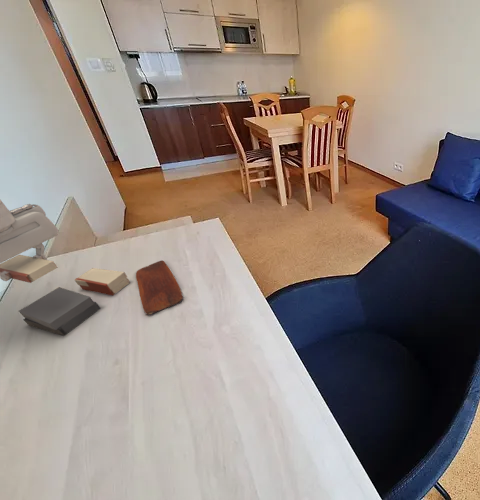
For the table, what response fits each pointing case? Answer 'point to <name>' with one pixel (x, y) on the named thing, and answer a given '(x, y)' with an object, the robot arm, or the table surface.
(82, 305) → the grey book pile
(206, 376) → the table surface
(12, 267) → the white book
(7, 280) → the robot arm
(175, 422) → the table surface
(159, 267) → the wooden tablet
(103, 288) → the white book pile
